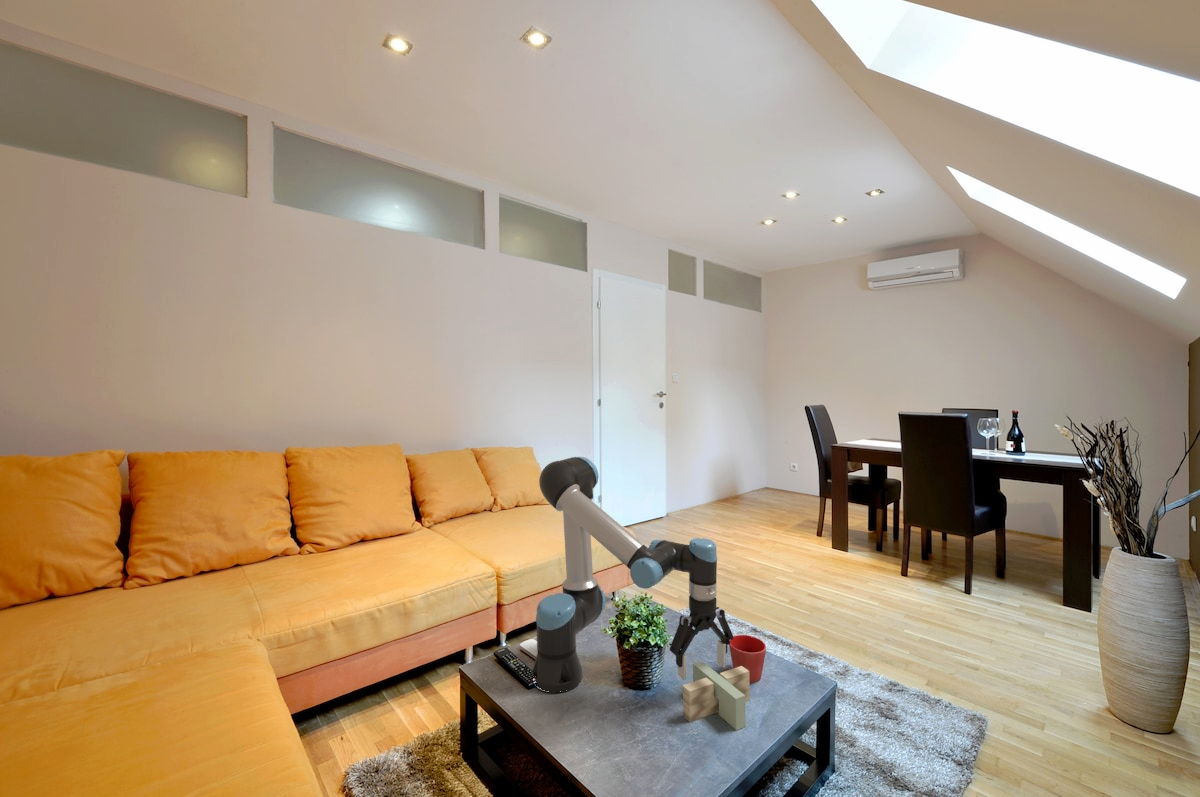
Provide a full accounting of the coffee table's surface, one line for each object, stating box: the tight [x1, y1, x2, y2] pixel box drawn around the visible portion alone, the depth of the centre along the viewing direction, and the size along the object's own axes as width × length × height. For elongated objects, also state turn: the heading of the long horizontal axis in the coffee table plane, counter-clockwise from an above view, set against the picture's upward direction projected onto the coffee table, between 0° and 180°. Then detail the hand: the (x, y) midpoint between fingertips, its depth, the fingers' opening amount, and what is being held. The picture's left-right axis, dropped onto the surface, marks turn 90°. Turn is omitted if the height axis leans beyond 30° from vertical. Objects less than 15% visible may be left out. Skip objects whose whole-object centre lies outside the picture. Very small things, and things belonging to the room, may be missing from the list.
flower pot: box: [729, 634, 767, 683], centre depth 145 cm, size 11×11×10 cm
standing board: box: [682, 666, 751, 723], centre depth 130 cm, size 20×3×8 cm, turn 115°
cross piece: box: [692, 660, 747, 731], centre depth 130 cm, size 18×3×8 cm, turn 25°
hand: (702, 670), depth 135 cm, fingers open, 13 cm apart
